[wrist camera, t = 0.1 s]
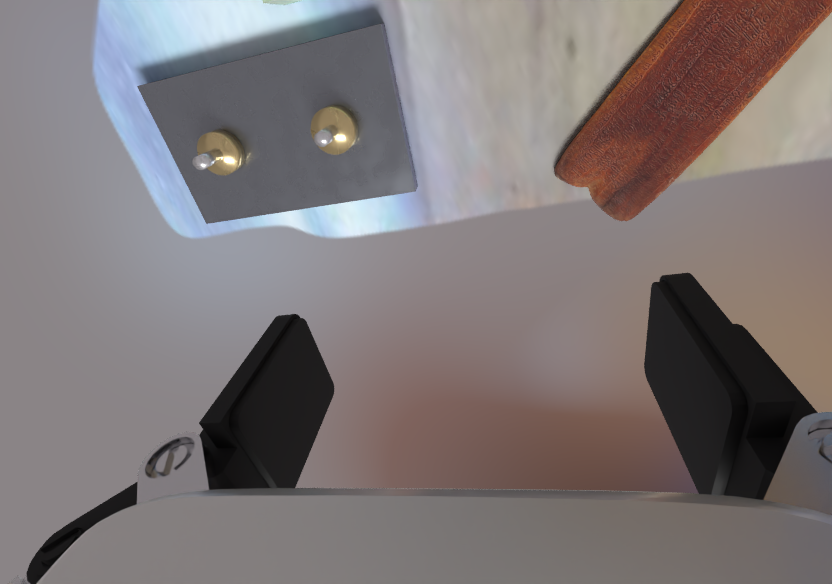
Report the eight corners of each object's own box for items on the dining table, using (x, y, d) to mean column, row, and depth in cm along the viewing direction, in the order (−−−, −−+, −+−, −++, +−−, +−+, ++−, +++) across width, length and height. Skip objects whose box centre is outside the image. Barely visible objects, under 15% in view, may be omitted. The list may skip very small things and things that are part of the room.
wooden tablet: (625, 223, 41) (630, 230, 40) (544, 170, 39) (546, 175, 38) (939, -93, 27) (964, -99, 25) (833, -198, 25) (854, -212, 24)
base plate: (148, 84, 39) (99, 92, 35) (384, 23, 34) (366, 23, 29) (213, 218, 47) (181, 241, 42) (417, 186, 41) (408, 208, 36)
